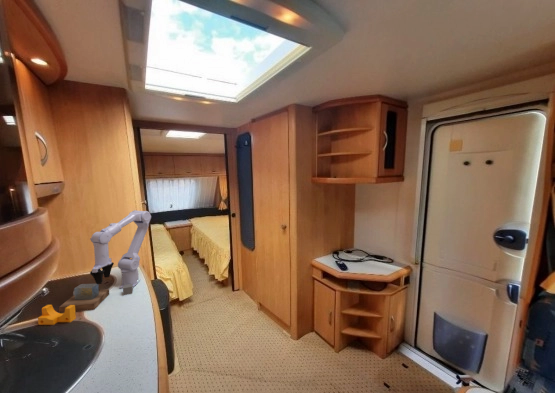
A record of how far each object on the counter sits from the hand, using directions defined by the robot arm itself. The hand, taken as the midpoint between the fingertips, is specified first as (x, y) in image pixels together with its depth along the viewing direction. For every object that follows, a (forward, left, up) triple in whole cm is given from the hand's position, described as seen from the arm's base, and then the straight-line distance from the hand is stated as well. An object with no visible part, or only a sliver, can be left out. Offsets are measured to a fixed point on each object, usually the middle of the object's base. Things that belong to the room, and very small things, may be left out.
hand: (103, 280), depth 115 cm
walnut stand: (+4, -6, -9) cm, 12 cm away
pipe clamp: (+18, -10, -10) cm, 22 cm away
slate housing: (+4, -5, -6) cm, 9 cm away
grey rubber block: (-3, +10, -10) cm, 14 cm away
